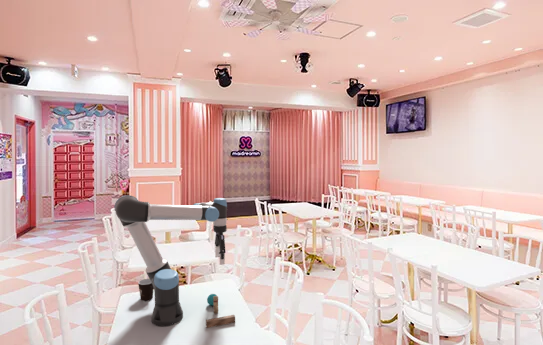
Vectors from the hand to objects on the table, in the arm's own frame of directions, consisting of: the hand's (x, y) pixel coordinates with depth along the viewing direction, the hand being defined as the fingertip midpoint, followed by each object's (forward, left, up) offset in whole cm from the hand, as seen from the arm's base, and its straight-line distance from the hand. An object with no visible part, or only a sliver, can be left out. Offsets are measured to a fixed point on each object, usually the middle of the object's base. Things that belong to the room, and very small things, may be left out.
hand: (219, 260), depth 187 cm
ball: (-7, -11, -17) cm, 22 cm away
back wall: (-7, -32, -20) cm, 39 cm away
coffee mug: (-41, +9, -21) cm, 46 cm away
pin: (-7, -20, -20) cm, 29 cm away
